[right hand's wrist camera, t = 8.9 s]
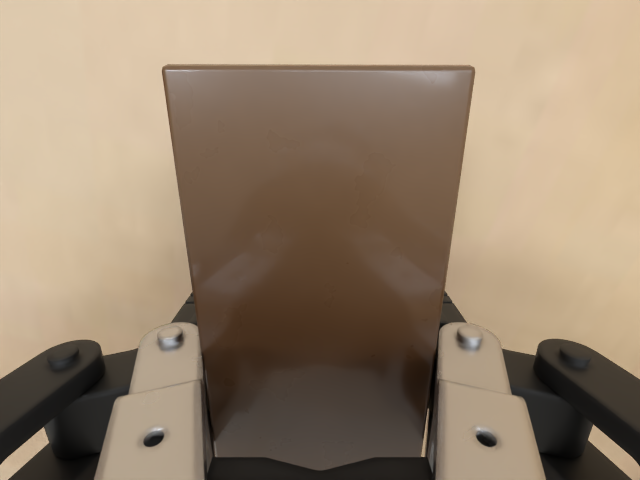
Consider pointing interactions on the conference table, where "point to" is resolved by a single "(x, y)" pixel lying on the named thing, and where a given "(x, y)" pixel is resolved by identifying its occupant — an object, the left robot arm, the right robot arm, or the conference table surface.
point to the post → (318, 248)
